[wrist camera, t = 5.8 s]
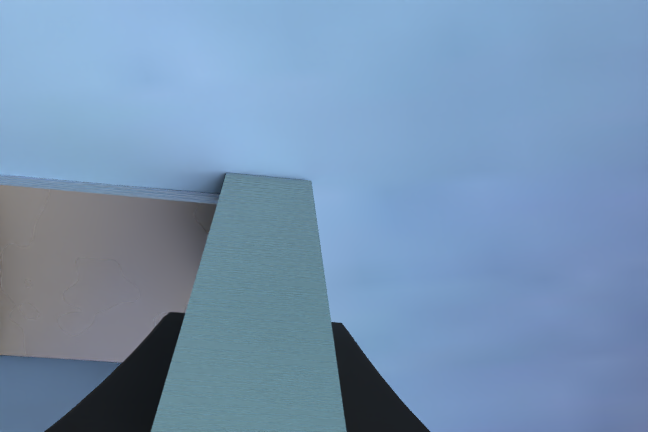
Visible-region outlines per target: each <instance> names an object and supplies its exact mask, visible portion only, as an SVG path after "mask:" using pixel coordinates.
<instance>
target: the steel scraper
mask: <svg viewBox="0 0 648 432" xmlns="http://www.w3.org/2000/svg"><path fill="white" fill-rule="evenodd" d="M169 312H180V313H185V316H184V320H183V323H182V327H181V330H180V333H179V337H178V340H177V344H176V347H175V351H174V354H173V357H172V361H171V364H170V368H169V371H168V375H167V378H166V381H165V385H164V388H163V392H162V395H161V399H160V402H159V405H158V409H157V412H156V416H155V419H154V422H153V426H152V429H151V432H347V431H346V424H345V417H344V410H343V403H342V396H341V389H340V382H339V374H338V367H337V360H336V353H335V346H334V339H333V332H332V325H331V318H330V310H329V303H328V296H327V289H326V282H325V275H324V268H323V261H322V253H321V246H320V239H319V232H318V225H317V218H316V211H315V204H314V196H313V189H312V182H311V181H308V180H297V179H287V178H276V177H266V176H256V175H245V174H235V173H226V176H225V179H224V183H223V186H222V190H221V193H220V194H209V193H199V192H188V191H177V190H166V189H155V188H145V187H134V186H123V185H112V184H101V183H91V182H79V181H68V180H56V179H45V178H33V177H22V176H10V175H0V355H10V356H26V357H42V358H58V359H74V360H90V361H106V362H123V361H124V360H125V359H126V358H127V357H128V356H129V355H130V354H131V353H132V352H133V351H134V350H135V349H136V348H137V347H138V346H139V345H140V343H141V342H142V341H143V340H144V339H145V338H146V337H147V336H148V335H149V333H150V332H151V331H152V330H153V329H154V328H155V326H156V325H157V324H158V323H159V322H160V321H161V319H162V318H163V317H164V316H165V315H167V314H168V313H169Z"/></svg>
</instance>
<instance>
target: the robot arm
mask: <svg viewBox="0 0 648 432" xmlns="http://www.w3.org/2000/svg"><path fill="white" fill-rule="evenodd" d="M184 316H185V313H180V312H169V313H168V314H167V315H165V316H164V317H163V318H162V319H161V321H160V322H159V323H158V324H157V325H156V326H155V328H154V329H153V330H152V331H151V332H150V333H149V335H148V336H147V337H146V338H145V339H144V340H143V341H142V342H141V343H140V345H139V346H138V347H137V348H136V349H135V350H134V351H133V352H132V353H131V354H130V355H129V356H128V357H127V358H126V359H125V360H124V361H123V362H122V363H121V364H120V365H119V366H118V367H117V368H116V369H115V370H114V371H113V372H112V373H111V374H110V375H109V376H108V377H107V378H106V379H105V380H104V381H103V382H102V383H101V384H100V385H99V386H98V387H96V388H95V389H94V390H93V391H92V392H91V393H90V394H89V395H87V396H86V397H85V398H84V399H83V400H82V401H81V402H80V403H78V404H77V405H76V406H75V407H74V408H73V409H72V410H71V411H69V412H68V413H67V414H66V415H65V416H63V417H62V418H61V419H60V420H58V421H57V422H56V423H55V424H53V425H52V426H51V427H50V428H48V429H47V430H46V431H45V432H151V429H152V426H153V422H154V419H155V416H156V412H157V409H158V405H159V402H160V399H161V395H162V392H163V388H164V385H165V381H166V378H167V375H168V371H169V368H170V364H171V361H172V357H173V354H174V351H175V347H176V344H177V340H178V337H179V333H180V330H181V327H182V323H183V320H184ZM331 325H332V332H333V339H334V346H335V353H336V360H337V367H338V374H339V382H340V389H341V396H342V403H343V410H344V417H345V424H346V431H347V432H430V431H429V430H428V429H427V428H426V427H425V426H424V424H423V423H422V422H421V421H420V420H419V419H418V418H417V417H416V416H415V415H414V414H413V413H412V412H411V411H410V410H409V409H408V407H407V406H406V405H405V404H404V403H403V402H402V401H401V399H400V398H399V397H398V396H397V395H396V393H395V392H394V391H393V390H392V388H391V387H390V386H389V385H388V384H387V382H386V381H385V380H384V379H383V378H382V376H381V375H380V374H379V372H378V371H377V370H376V369H375V367H374V366H373V365H372V363H371V362H370V361H369V359H368V358H367V357H366V355H365V354H364V353H363V351H362V350H361V349H360V347H359V346H358V344H357V343H356V342H355V340H354V339H353V337H352V336H351V335H350V333H349V332H348V330H347V329H346V328H345V327H344V325H343V324H342V323H336V322H331Z"/></svg>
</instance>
